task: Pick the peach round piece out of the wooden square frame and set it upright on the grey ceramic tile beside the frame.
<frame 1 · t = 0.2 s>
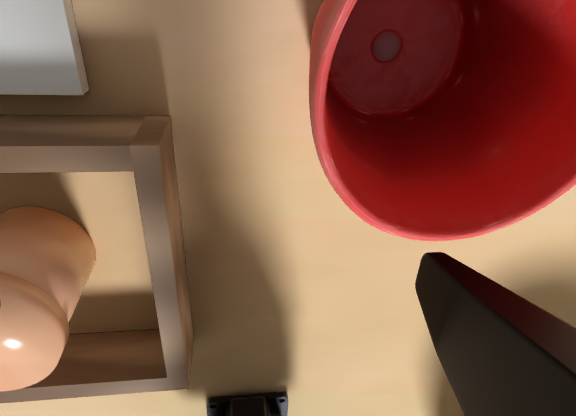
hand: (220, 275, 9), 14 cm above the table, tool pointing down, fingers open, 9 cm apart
wooden square frame: (41, 250, 24), on the table
peach round piece: (41, 250, 24), resting in wooden square frame
flower pot: (383, 41, 21), on the table
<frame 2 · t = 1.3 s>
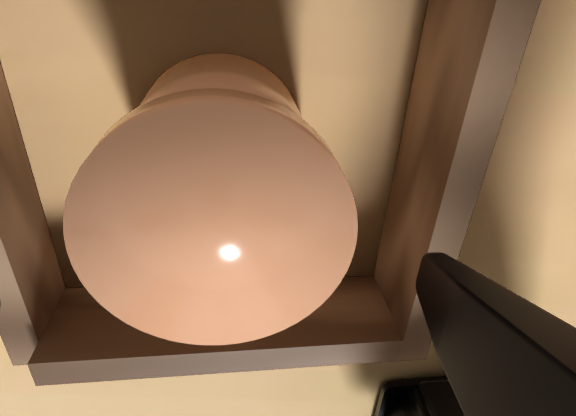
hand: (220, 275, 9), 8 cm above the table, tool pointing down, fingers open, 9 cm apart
wooden square frame: (222, 137, 15), on the table
peach round piece: (222, 137, 15), resting in wooden square frame
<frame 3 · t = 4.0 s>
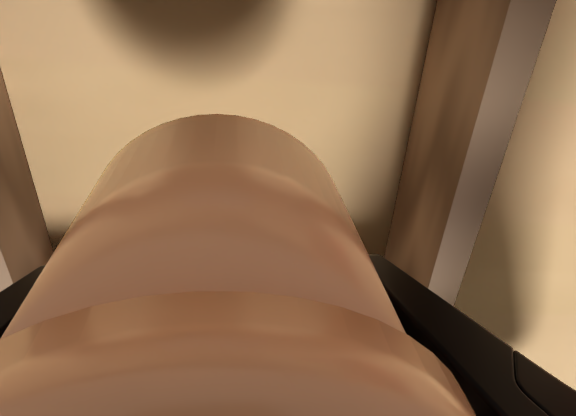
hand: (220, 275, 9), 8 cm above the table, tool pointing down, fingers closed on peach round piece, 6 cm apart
wooden square frame: (226, 146, 15), on the table
peach round piece: (221, 234, 10), point 6 cm above the table, touching gripper
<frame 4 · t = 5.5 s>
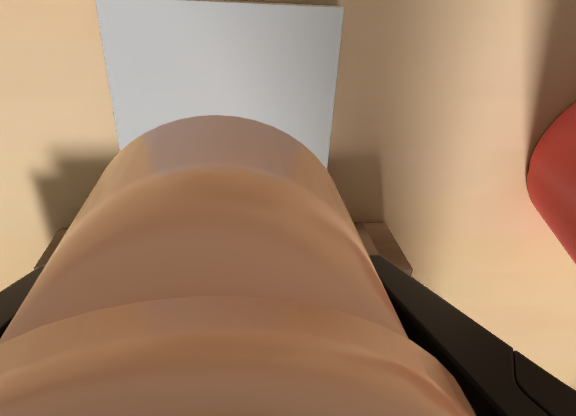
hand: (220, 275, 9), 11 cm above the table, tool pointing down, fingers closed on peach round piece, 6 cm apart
wooden square frame: (232, 339, 25), on the table
peach round piece: (221, 235, 10), point 9 cm above the table, touching gripper
grey tile: (227, 114, 18), on the table
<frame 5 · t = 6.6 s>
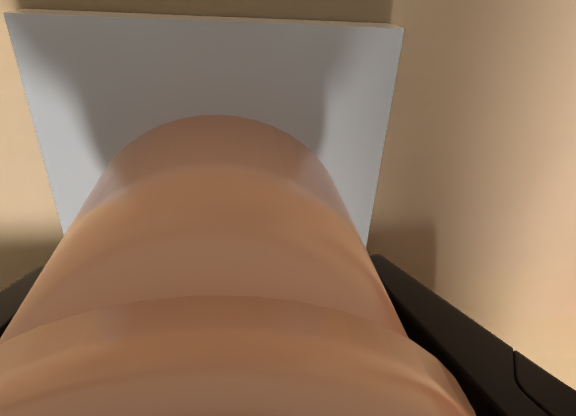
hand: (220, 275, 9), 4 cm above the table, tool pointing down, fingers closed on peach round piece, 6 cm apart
peach round piece: (221, 235, 10), point 3 cm above the table, touching gripper
grey tile: (223, 178, 13), on the table
when the fingers open (4 cm above the table, at t = 7.6 s): peach round piece drops 1 cm, resting on grey tile.
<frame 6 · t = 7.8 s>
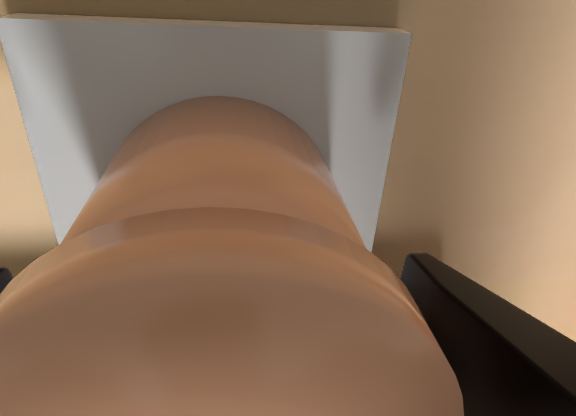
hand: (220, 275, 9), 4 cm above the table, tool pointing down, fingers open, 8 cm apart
peach round piece: (223, 205, 11), point 1 cm above the table, touching grey tile
grey tile: (223, 187, 12), on the table
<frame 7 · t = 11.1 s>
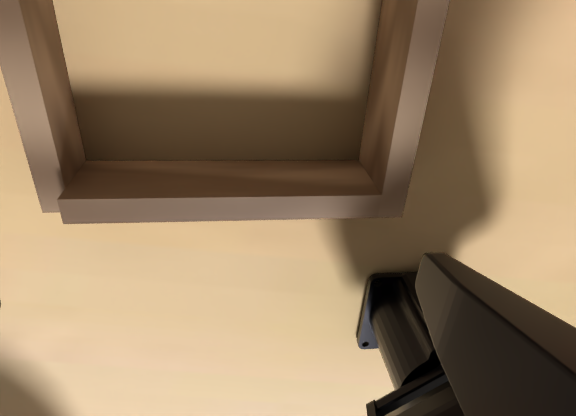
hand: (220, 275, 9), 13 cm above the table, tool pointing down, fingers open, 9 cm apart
wooden square frame: (224, 11, 18), on the table
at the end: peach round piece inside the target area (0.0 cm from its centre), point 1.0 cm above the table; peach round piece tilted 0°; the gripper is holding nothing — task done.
